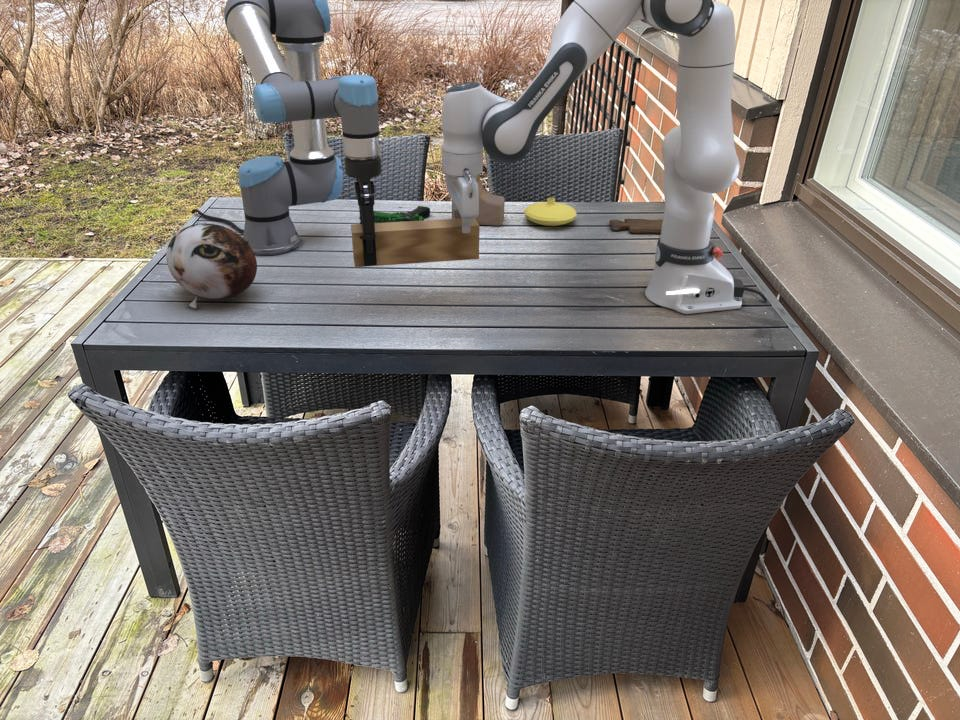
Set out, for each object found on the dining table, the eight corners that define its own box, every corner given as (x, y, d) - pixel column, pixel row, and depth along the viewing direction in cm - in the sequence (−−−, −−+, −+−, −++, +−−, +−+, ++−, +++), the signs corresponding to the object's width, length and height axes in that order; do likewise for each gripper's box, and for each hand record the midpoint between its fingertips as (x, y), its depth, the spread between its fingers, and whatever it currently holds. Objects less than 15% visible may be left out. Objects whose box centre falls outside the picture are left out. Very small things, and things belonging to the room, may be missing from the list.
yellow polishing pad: (541, 209, 225) (542, 187, 222) (585, 220, 218) (587, 197, 214) (513, 223, 214) (514, 200, 211) (559, 234, 206) (560, 211, 203)
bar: (354, 267, 158) (352, 233, 153) (353, 258, 162) (350, 224, 158) (479, 259, 163) (479, 225, 159) (474, 250, 167) (474, 217, 163)
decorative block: (501, 226, 212) (504, 122, 196) (451, 223, 213) (450, 120, 198) (504, 218, 218) (507, 116, 203) (455, 215, 220) (455, 114, 204)
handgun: (435, 206, 218) (413, 220, 206) (436, 216, 220) (413, 230, 208) (389, 200, 224) (364, 213, 212) (389, 209, 225) (365, 223, 213)
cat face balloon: (130, 285, 161) (164, 203, 163) (192, 308, 177) (221, 233, 178) (195, 307, 151) (229, 220, 152) (254, 330, 166) (285, 250, 168)
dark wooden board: (700, 236, 208) (693, 224, 217) (701, 230, 207) (694, 219, 216) (612, 233, 208) (607, 221, 217) (613, 227, 207) (608, 216, 216)
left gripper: (384, 167, 141) (390, 275, 153) (377, 143, 157) (382, 243, 169) (346, 168, 140) (355, 277, 152) (342, 145, 155) (350, 245, 167)
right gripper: (487, 176, 145) (485, 240, 152) (467, 150, 162) (467, 209, 169) (456, 177, 144) (455, 242, 151) (440, 151, 161) (440, 210, 168)
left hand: (369, 259), depth 160 cm, fingers closed on bar, 5 cm apart
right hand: (461, 224), depth 160 cm, fingers open, 8 cm apart
